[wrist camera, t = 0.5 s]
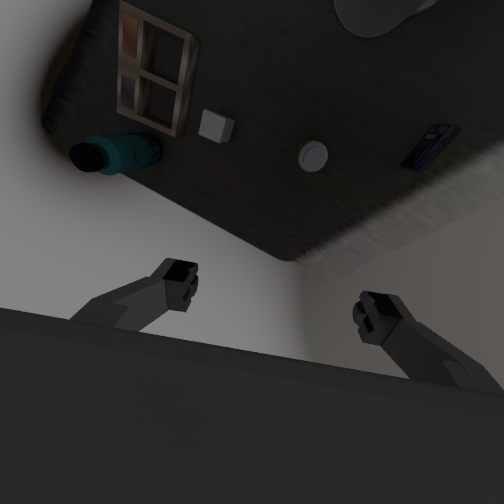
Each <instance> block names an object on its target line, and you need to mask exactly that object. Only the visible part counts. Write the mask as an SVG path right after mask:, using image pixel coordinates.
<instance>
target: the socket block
mask: <svg viewBox="0 0 504 504" xmlns="http://www.w3.org/2000/svg"><path fill="white" fill-rule="evenodd" d="M156 30H158V31H160V32H162V33H164V34H166V35H168V36H170V37H172V38H174V39H177V40H179V41H181V42H183V43H184V46H183V53H182V60H181V67H180V73H179V80H178V85H176V84H174V83H172V82H170V81H167V80H165V79H163V78H161V77H159V76H156V75H154V74H152V66H153V55H154V44H155V33H156ZM198 47H199V42H198V41H197V40H196V39H195V38H194V36H193V35H192V34H190V33H188V32H186V31H184V30H182V29H179V28H177V27H175V26H173V25H171V24H169V23H167V22H165V21H163V20H161V19H159V18H157V17H155V16H153V15H150V14H148V13H146V12H144V11H142V10H140V9H138V8H136V7H134V6H132V5H130V4H128V3H126V2H124V1H121V0H120V10H119V51H118V91H117V112H118V113H120V114H123V115H125V116H127V117H130V118H132V119H134V120H137V121H139V122H141V123H144V124H146V125H148V126H151V127H153V128H155V129H158V130H160V131H162V132H165V133H167V134H169V135H172V136H174V137H181V136H183V132H184V126H185V121H186V115H187V109H188V104H189V98H190V92H191V87H192V81H193V75H194V70H195V64H196V58H197V53H198ZM151 80H152V81H154V82H156V83H158V84H160V85H163V86H165V87H167V88H169V89H171V90H174V91H176V92H177V94H176V100H175V107H174V114H173V121H172V126H170V125H168V124H165V123H163V122H161V121H158V120H156V119H154V118H151V117H149V116H148V109H149V98H150V87H151Z"/></svg>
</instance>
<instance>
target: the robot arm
mask: <svg viewBox="0 0 504 504" xmlns="http://www.w3.org/2000/svg"><path fill="white" fill-rule="evenodd" d="M436 1H437V0H333V3H334V7H335V11H336V14H337V16H338V18H339V20H340V22H341V23H342V25H343V26H344V27H345V28H346V29H347V30H348V31H349V32H350V33H352V34H354V35H356V36H359V37H364V38H371V37H377V36H380V35H383V34H385V33H387V32H389V31H391V30H392V29H394V28H395V27H396V26H398V25H399V24H400V23H401V22H403V21H404V20H405V19H407V18H408V17H410V16H411V15H415V14H418V13H421V12H424V11H426V10H428V9H429V8H430V7H431V6H432V5H433V4H434V3H435V2H436ZM197 271H198V264H197V263H194V262H188V261H183V260H177V259H171V258H166V259H165V260H164V261H163V262H162V263H161V264H160V266H159V267H158V268H157V269H156V270H155V271H154V273H153V274H152V275H151V276H150V277H144V278H142V279H140V280H137V281H135V282H132V283H130V284H127V285H125V286H122V287H120V288H117V289H115V290H112V291H110V292H107V293H105V294H102V295H100V296H98V297H95V298H93V299H91V300H90V301H89V302H88V303H87V304H86V305H85V306H83V307H82V308H81V309H80V310H79V311H78V312H77V313H76V314H75V315H74V316H73V317H72V318H70V319H69V320H68V319H63V318H57V317H51V316H45V315H39V314H34V313H28V312H22V311H17V310H11V309H5V308H0V504H504V390H503V389H502V388H501V386H500V385H499V384H498V383H497V382H496V381H495V379H494V378H493V377H492V376H491V375H490V373H489V372H488V371H487V370H486V369H485V368H484V366H482V365H481V364H479V363H478V362H476V361H475V360H474V359H472V358H471V357H469V356H468V355H466V354H465V353H464V352H462V351H461V350H459V349H458V348H456V347H455V346H453V345H452V344H451V343H449V342H447V341H446V340H445V339H443V338H442V337H441V336H439V335H438V334H436V333H435V332H433V331H432V330H431V329H429V328H428V327H426V326H425V325H423V324H422V323H420V322H417V321H416V320H415V319H414V317H413V316H412V314H411V313H410V312H409V310H408V309H407V307H406V306H405V305H404V303H403V302H402V301H401V299H400V298H399V297H398V296H397V295H391V294H381V293H375V292H369V291H363V292H362V293H361V294H360V296H359V298H360V301H359V302H357V303H355V305H354V308H353V319H354V322H355V323H356V324H357V325H358V326H359V329H358V332H359V334H360V337H361V340H362V342H364V343H368V344H373V345H379V346H381V347H382V348H383V350H384V351H385V352H386V353H387V354H388V355H389V356H390V357H391V358H392V359H393V361H395V363H396V364H397V365H398V366H399V367H400V368H401V369H402V370H403V371H404V372H405V374H406V375H407V376H408V377H409V378H410V379H406V378H400V377H394V376H389V375H383V374H377V373H371V372H366V371H360V370H354V369H349V368H343V367H337V366H332V365H326V364H320V363H314V362H309V361H303V360H297V359H292V358H286V357H280V356H274V355H269V354H262V353H257V352H251V351H245V350H240V349H234V348H229V347H223V346H217V345H211V344H205V343H199V342H194V341H188V340H183V339H177V338H171V337H165V336H160V335H154V334H148V333H143V332H138V331H140V330H141V329H143V328H144V327H146V326H147V325H148V324H150V323H151V322H153V321H154V320H155V319H157V318H158V317H160V316H161V315H162V314H164V313H165V312H167V311H168V310H175V311H182V312H186V311H187V309H188V307H189V305H190V303H191V297H192V296H194V295H195V293H196V290H197V286H198V276H197V275H196V273H197Z"/></svg>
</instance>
